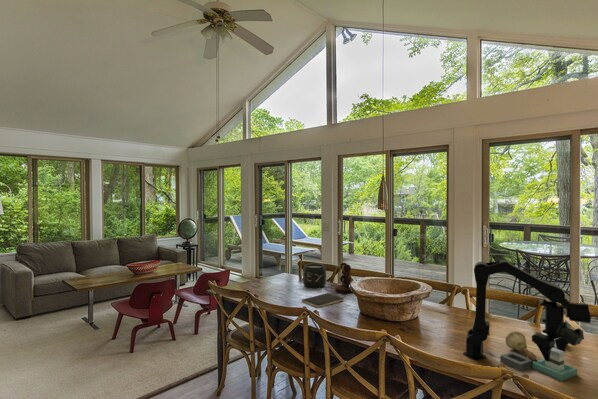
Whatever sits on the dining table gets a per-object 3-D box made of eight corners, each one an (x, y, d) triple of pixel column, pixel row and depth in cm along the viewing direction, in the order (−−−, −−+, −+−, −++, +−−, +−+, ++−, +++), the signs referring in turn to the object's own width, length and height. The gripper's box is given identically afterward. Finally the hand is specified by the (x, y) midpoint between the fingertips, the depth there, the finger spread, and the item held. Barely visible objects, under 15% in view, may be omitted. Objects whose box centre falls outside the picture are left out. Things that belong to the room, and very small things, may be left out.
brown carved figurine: (358, 293, 236) (358, 264, 236) (339, 294, 233) (339, 265, 233) (351, 287, 250) (351, 261, 250) (332, 288, 247) (332, 262, 247)
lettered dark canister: (297, 286, 254) (297, 266, 254) (312, 282, 268) (312, 262, 268) (316, 290, 242) (316, 269, 242) (330, 285, 256) (330, 265, 256)
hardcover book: (344, 301, 218) (344, 298, 218) (318, 308, 204) (318, 305, 204) (327, 296, 231) (327, 292, 231) (301, 302, 216) (301, 299, 216)
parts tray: (561, 381, 121) (561, 374, 121) (532, 368, 130) (532, 362, 130) (577, 375, 125) (577, 368, 125) (548, 363, 134) (548, 357, 134)
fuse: (559, 374, 124) (559, 353, 124) (544, 368, 129) (544, 347, 129) (564, 372, 126) (564, 351, 126) (549, 366, 130) (549, 346, 130)
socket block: (520, 370, 128) (520, 364, 128) (500, 361, 136) (500, 355, 136) (533, 366, 132) (533, 360, 132) (513, 357, 139) (513, 351, 139)
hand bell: (512, 327, 146) (531, 346, 130) (529, 337, 145) (551, 358, 130) (501, 343, 147) (519, 363, 132) (518, 352, 147) (538, 374, 131)
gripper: (564, 329, 116) (564, 374, 116) (593, 321, 124) (593, 363, 124) (530, 319, 126) (530, 360, 126) (559, 312, 134) (559, 350, 134)
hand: (554, 358), depth 127 cm, fingers open, 9 cm apart
